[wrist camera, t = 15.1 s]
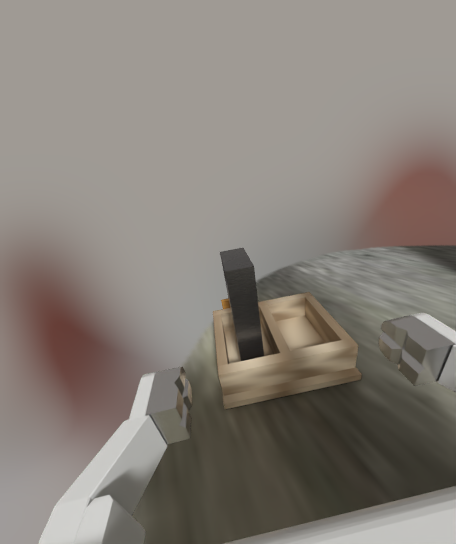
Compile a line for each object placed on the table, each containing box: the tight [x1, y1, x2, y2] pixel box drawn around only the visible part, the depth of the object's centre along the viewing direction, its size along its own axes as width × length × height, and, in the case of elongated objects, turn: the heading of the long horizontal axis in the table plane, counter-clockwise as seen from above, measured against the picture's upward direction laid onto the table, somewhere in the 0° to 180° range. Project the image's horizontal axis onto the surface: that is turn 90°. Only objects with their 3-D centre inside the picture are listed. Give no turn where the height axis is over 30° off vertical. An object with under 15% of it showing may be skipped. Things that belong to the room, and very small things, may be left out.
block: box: [220, 248, 264, 361], centre depth 23 cm, size 2×5×12 cm, turn 8°
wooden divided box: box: [213, 292, 362, 409], centre depth 25 cm, size 14×12×5 cm
